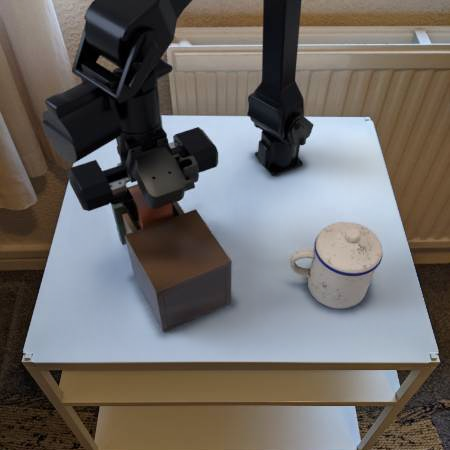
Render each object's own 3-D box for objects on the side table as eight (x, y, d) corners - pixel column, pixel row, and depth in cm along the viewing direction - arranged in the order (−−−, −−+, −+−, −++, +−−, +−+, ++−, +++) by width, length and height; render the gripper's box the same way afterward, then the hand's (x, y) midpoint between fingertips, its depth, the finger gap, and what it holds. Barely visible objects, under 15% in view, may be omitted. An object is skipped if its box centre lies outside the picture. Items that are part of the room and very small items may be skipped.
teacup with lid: (364, 263, 77) (385, 209, 67) (370, 313, 72) (393, 262, 62) (286, 258, 77) (295, 204, 68) (286, 308, 72) (296, 256, 62)
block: (161, 202, 74) (158, 179, 70) (174, 223, 72) (171, 199, 68) (132, 213, 73) (127, 189, 69) (144, 234, 70) (140, 211, 67)
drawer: (108, 219, 80) (99, 182, 74) (162, 200, 83) (157, 163, 76) (143, 283, 73) (135, 249, 67) (201, 260, 76) (199, 225, 69)
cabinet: (134, 278, 75) (124, 235, 67) (198, 253, 78) (195, 208, 70) (163, 332, 70) (155, 292, 62) (230, 303, 72) (231, 261, 65)
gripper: (82, 187, 52) (110, 277, 65) (240, 134, 57) (236, 228, 70) (51, 126, 57) (82, 221, 70) (197, 83, 63) (201, 179, 75)
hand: (152, 213), depth 71 cm, fingers closed on block, 5 cm apart
